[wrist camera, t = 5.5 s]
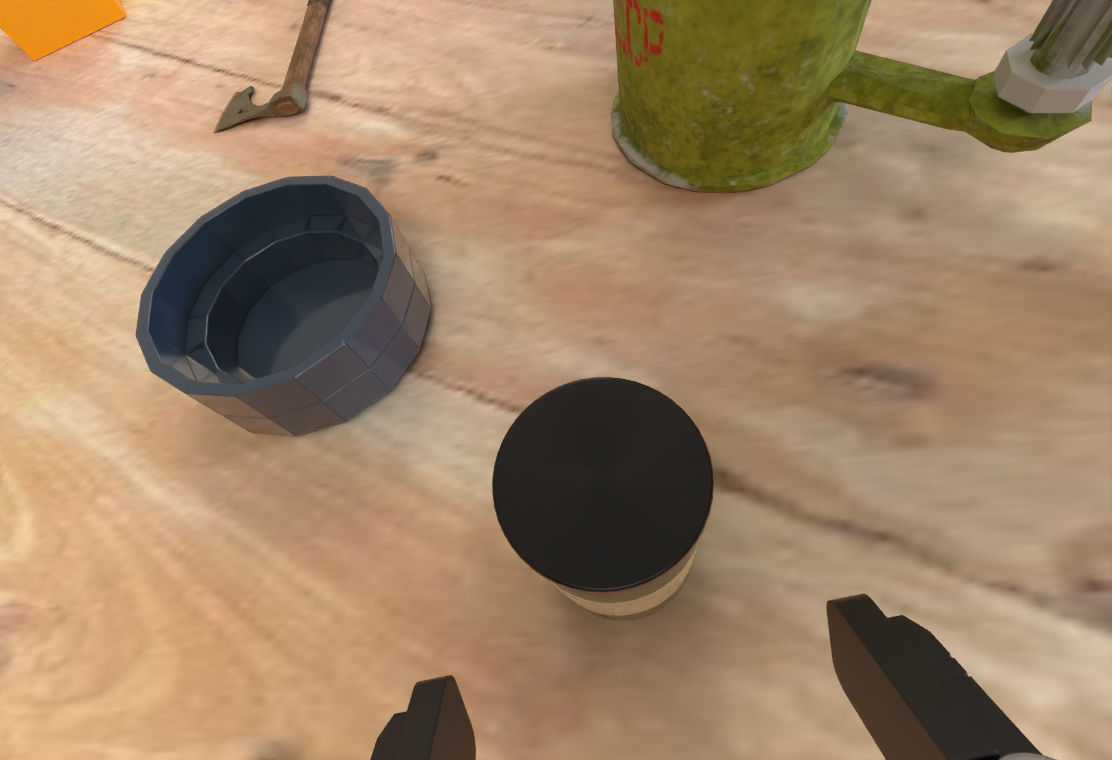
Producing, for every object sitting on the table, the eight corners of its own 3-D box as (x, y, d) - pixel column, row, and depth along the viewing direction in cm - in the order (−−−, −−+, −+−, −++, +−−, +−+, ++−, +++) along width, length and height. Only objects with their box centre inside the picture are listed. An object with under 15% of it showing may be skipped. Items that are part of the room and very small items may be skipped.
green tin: (591, 453, 24) (559, 347, 16) (716, 514, 22) (749, 428, 14) (523, 574, 22) (450, 520, 14) (653, 653, 20) (651, 641, 12)
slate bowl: (315, 218, 34) (265, 151, 29) (477, 283, 30) (446, 216, 25) (169, 380, 30) (85, 330, 25) (332, 483, 25) (264, 444, 21)
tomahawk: (277, -10, 49) (267, -25, 48) (348, -35, 48) (339, -52, 47) (220, 140, 40) (206, 124, 39) (306, 114, 39) (294, 97, 37)
